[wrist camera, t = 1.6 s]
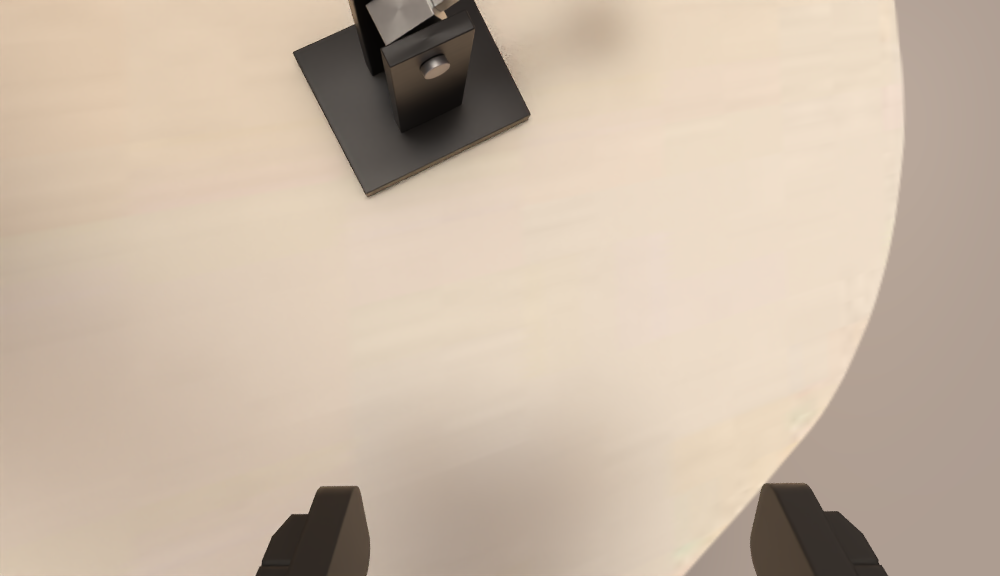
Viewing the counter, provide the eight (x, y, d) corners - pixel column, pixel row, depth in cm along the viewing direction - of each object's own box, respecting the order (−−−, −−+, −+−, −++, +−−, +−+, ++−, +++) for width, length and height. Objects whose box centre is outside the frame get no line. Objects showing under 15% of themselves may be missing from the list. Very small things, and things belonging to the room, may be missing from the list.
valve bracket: (460, -16, 41) (475, -153, 28) (528, 119, 42) (571, 43, 29) (296, 59, 40) (234, -50, 27) (367, 197, 40) (339, 153, 28)
